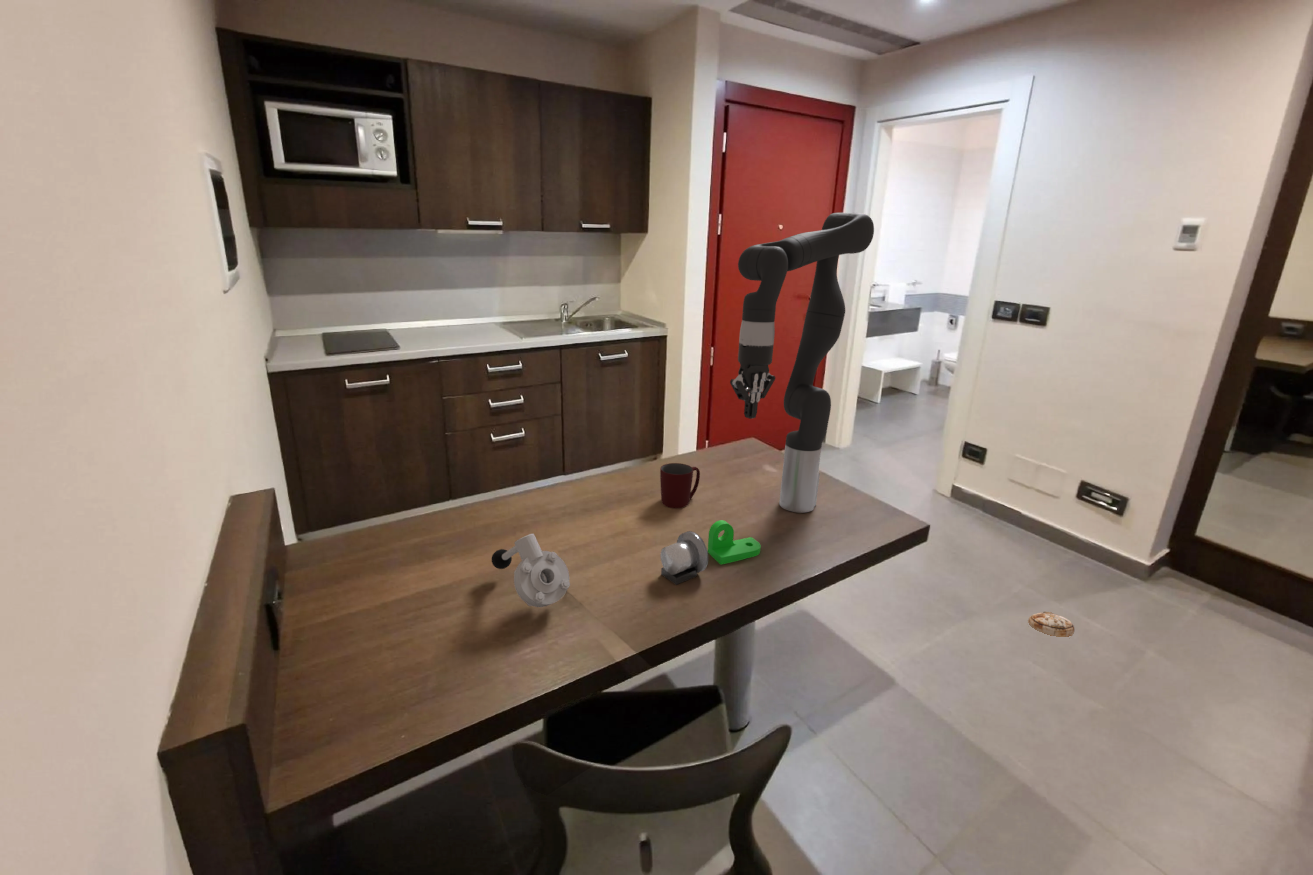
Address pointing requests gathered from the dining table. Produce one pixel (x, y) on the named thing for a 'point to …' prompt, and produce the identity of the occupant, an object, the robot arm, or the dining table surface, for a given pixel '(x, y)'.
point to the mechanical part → (730, 544)
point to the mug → (677, 484)
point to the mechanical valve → (535, 572)
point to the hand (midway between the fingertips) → (750, 417)
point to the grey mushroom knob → (684, 558)
